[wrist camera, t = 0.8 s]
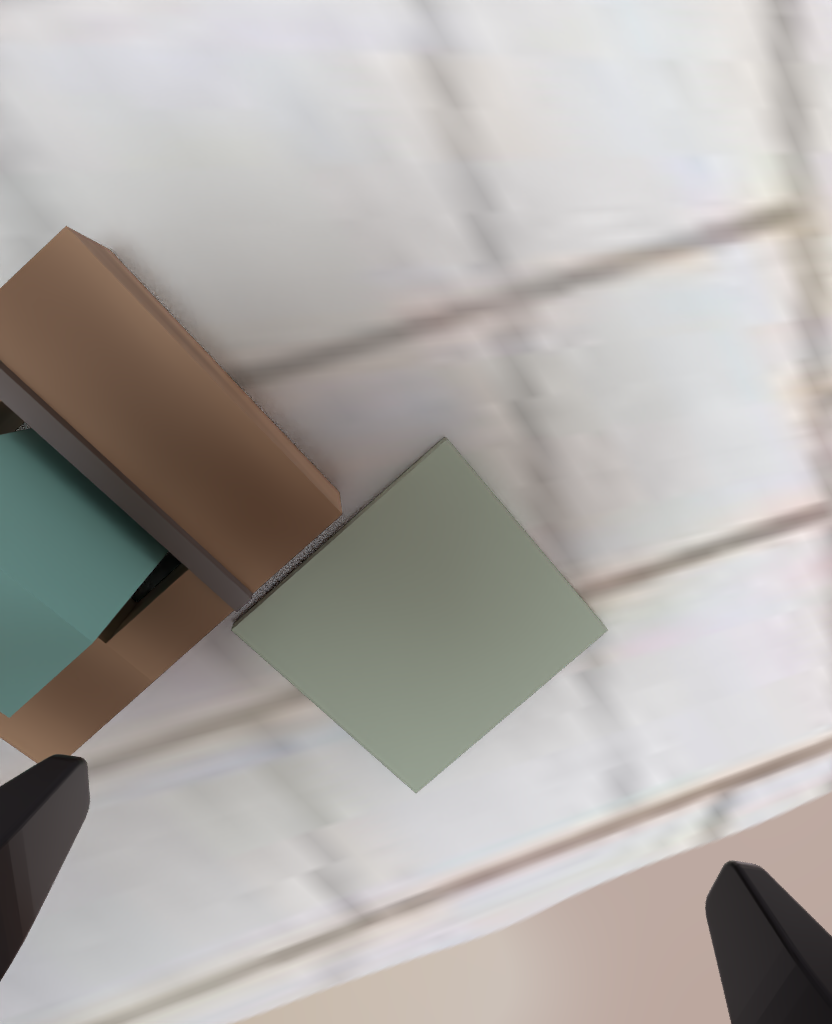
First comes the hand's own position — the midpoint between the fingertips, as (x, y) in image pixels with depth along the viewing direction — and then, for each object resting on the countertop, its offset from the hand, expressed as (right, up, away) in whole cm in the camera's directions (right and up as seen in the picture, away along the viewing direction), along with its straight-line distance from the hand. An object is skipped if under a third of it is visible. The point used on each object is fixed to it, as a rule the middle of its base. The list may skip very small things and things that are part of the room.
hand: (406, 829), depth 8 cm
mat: (+1, 0, +14) cm, 14 cm away
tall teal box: (-10, +5, +11) cm, 16 cm away
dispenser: (-10, +5, +11) cm, 15 cm away
